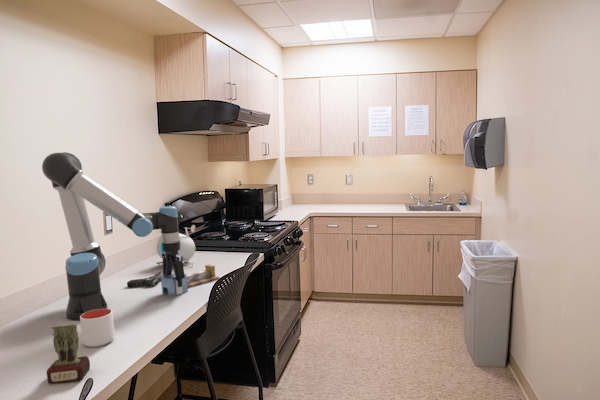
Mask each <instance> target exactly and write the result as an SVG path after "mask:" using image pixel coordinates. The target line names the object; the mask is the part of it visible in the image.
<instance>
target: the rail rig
mask: <svg viewBox="0 0 600 400" xmlns="http://www.w3.org/2000/svg"><path fill="white" fill-rule="evenodd" d="M204 267H205V270H201V271H197V272H194V273H190V274H186V276H187V288H188V289H190V288H194V287H197V286H200V285H201V286H202V285H205V284H208V283H210V282H214V281H218V280H220V279H221V278H220V276H218V275H216V268H215V265H212V264H206V265H205V266H204ZM219 278H220V279H219Z"/></svg>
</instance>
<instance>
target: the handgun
mask: <svg viewBox="0 0 600 400" xmlns="http://www.w3.org/2000/svg"><path fill="white" fill-rule="evenodd" d="M165 272H166V271H165ZM162 276H165V275H163V270H162V271H159V272H157V273H155V274H154V275H152V276H148V277H145V278H138V279H130V280H129V281H127V282H126V287H127V288H128V289H130V288H131V289H132V288H139V287H146V288H152V287H153V286H154V287H155V286H156V285H158V283H160V282H161V277H162ZM154 287H153V288H154Z"/></svg>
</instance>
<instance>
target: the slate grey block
mask: <svg viewBox="0 0 600 400" xmlns="http://www.w3.org/2000/svg"><path fill="white" fill-rule="evenodd" d="M184 275H185V278H183V279H182V290H183V293H182V294H184V293H185V294H186V293H187V292H188V291H189V290H188V289H189V288H187V276H186V275H187V274H186V273H184ZM175 279H176V276H175V272H174V273H172V274H169V275H165V276H162V277H161V280H160V282H161V283H160V284H161V295H163V294H165V295H168V297H169V298H171V297H174V296H178V295H177V294H176V283H175ZM167 293H168V294H167Z"/></svg>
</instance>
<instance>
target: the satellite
mask: <svg viewBox="0 0 600 400" xmlns="http://www.w3.org/2000/svg"><path fill="white" fill-rule="evenodd" d="M184 229H185V234H183V233H180V232H179V240H178V241H179V242H180V250H178V254H179V256H182V257H183V264H186V266H187V267H190V268H193V267H194V263H190V262H189V261H190V260H191V259H192V258H193V257H194V255H195V253H196V251H197V250H196V249H197V247H196V245H195V242H194V240H193V239H192V238H191V237H190V235H189V231H188V229H190V232H191V233H194V232H195V231H196V225H195V224H192V225H191V227H187V226H186V227H184ZM156 232H159V233H161V229H158V230H156ZM162 243H163V242H162V237H161V236H160V237H159V239H158V241H157V243H156V252H157V255H158V257H160V259H162V261H158V262H156V263H155V264H156V265H159V266H161V264H163V258H162V253H165V252H164V251H163V248H162Z"/></svg>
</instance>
